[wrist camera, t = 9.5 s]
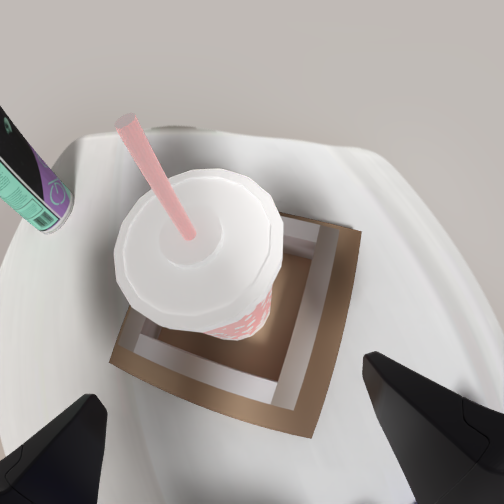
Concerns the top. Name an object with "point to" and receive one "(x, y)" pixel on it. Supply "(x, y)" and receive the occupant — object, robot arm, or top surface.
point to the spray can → (30, 182)
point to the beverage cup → (198, 247)
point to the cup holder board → (261, 339)
